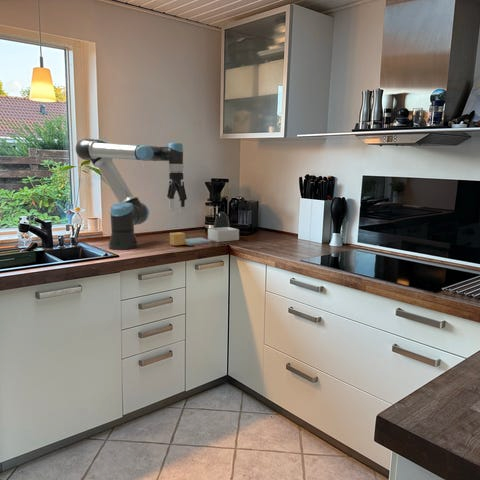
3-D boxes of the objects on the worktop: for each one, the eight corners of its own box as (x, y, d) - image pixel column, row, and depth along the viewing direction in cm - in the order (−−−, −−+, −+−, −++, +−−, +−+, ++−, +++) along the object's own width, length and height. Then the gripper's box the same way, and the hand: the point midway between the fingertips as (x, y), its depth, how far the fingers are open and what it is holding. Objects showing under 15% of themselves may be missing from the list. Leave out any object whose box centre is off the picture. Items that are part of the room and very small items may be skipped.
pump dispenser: (210, 236, 275) (209, 211, 272) (222, 234, 282) (222, 210, 279) (220, 238, 267) (220, 213, 265) (233, 236, 274) (233, 212, 272)
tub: (218, 243, 248) (218, 231, 247) (208, 240, 258) (207, 228, 257) (238, 241, 256) (239, 229, 254) (228, 238, 266) (228, 227, 264)
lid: (177, 248, 234) (176, 235, 233) (167, 244, 245) (167, 232, 244) (211, 244, 246) (211, 232, 245) (200, 241, 256) (200, 229, 255)
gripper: (192, 172, 227) (193, 213, 230) (173, 171, 247) (173, 209, 251) (179, 172, 223) (180, 214, 226) (160, 171, 243) (161, 209, 247)
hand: (176, 211), depth 239 cm, fingers open, 13 cm apart
